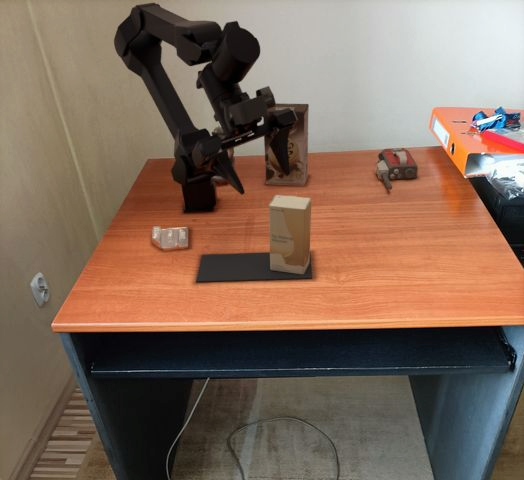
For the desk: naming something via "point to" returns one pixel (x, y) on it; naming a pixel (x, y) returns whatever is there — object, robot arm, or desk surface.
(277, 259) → the cosmetic box
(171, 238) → the stamped metal plate
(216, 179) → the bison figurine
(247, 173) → the desk surface
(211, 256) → the mat
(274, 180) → the coffee box
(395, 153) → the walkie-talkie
